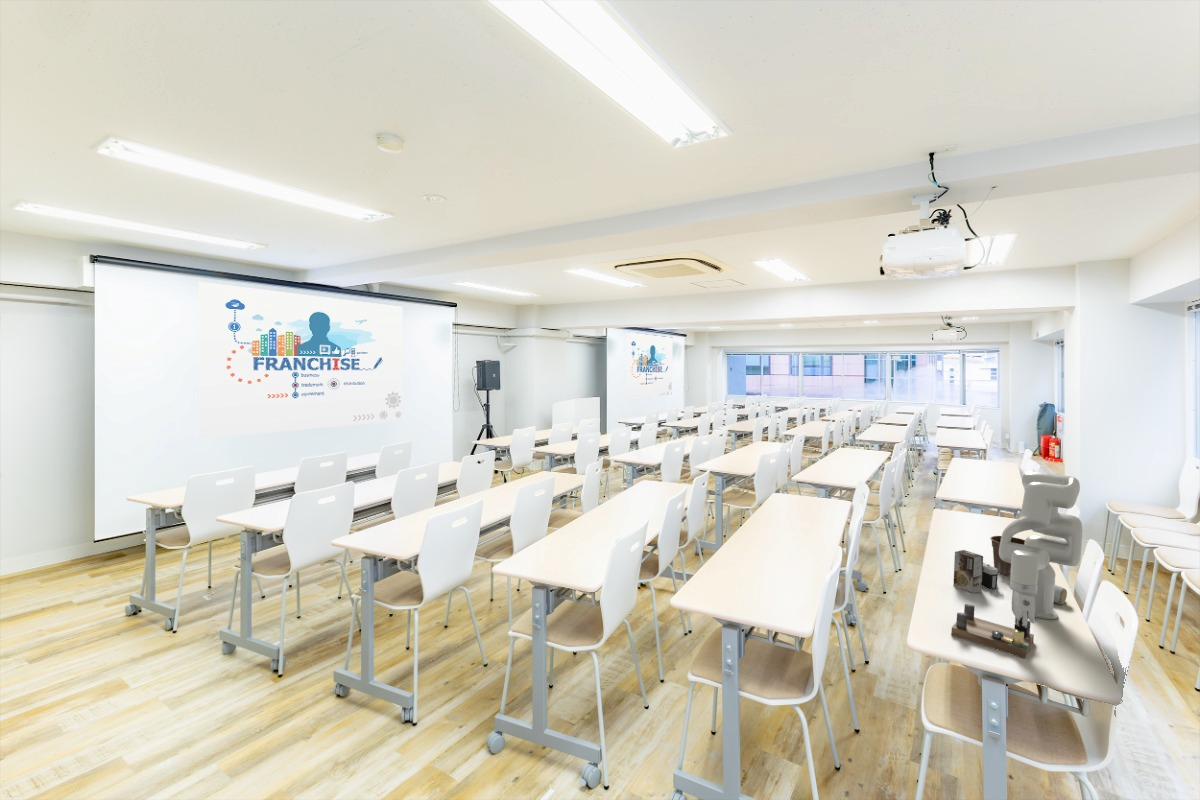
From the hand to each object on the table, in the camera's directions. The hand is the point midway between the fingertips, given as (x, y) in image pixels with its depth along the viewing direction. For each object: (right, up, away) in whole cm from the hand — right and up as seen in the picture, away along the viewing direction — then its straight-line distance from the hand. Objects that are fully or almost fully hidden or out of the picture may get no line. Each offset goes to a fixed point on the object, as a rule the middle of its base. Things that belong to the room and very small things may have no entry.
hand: (1020, 636), depth 192 cm
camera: (+29, -2, +59) cm, 66 cm away
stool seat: (-4, -4, +8) cm, 10 cm away
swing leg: (-5, -2, 0) cm, 5 cm away
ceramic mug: (+46, -3, +42) cm, 63 cm away
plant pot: (+51, -1, +72) cm, 88 cm away
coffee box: (+17, -2, +54) cm, 56 cm away
